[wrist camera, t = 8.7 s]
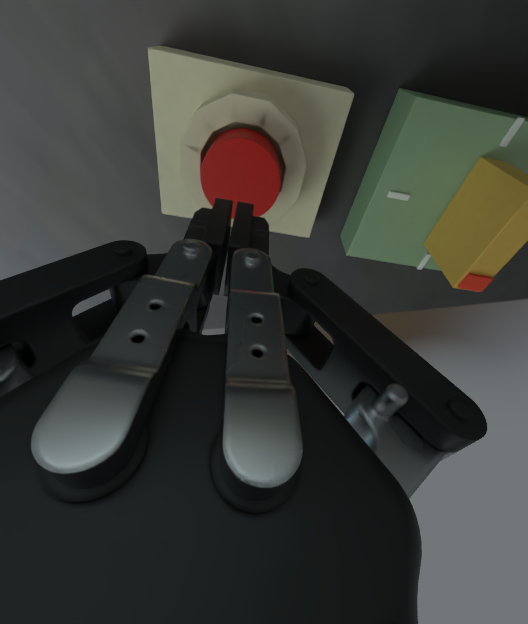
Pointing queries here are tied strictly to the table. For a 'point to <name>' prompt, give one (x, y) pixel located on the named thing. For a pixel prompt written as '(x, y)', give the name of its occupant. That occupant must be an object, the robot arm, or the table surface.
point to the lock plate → (424, 172)
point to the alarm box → (244, 114)
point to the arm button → (242, 170)
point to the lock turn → (481, 225)
